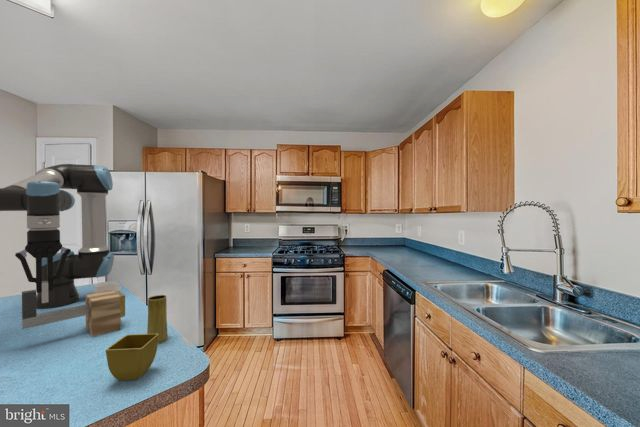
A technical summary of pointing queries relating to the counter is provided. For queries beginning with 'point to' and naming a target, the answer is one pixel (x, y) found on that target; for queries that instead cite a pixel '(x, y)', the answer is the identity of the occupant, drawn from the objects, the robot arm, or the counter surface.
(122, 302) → the collar
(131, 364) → the flower pot
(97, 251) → the robot arm
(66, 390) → the counter surface
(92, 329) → the block
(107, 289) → the cup
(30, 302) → the shaft
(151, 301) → the vase
